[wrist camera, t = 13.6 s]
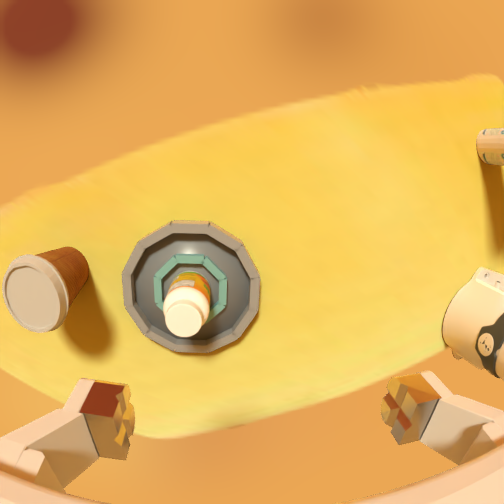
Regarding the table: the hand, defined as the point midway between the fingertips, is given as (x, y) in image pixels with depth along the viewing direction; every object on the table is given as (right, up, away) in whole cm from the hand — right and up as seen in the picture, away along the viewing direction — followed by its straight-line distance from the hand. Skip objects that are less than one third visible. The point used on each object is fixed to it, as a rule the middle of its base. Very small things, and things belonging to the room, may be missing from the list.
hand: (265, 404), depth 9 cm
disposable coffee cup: (-26, +2, +32) cm, 42 cm away
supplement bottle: (-9, 0, +34) cm, 35 cm away
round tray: (-9, 0, +35) cm, 36 cm away
